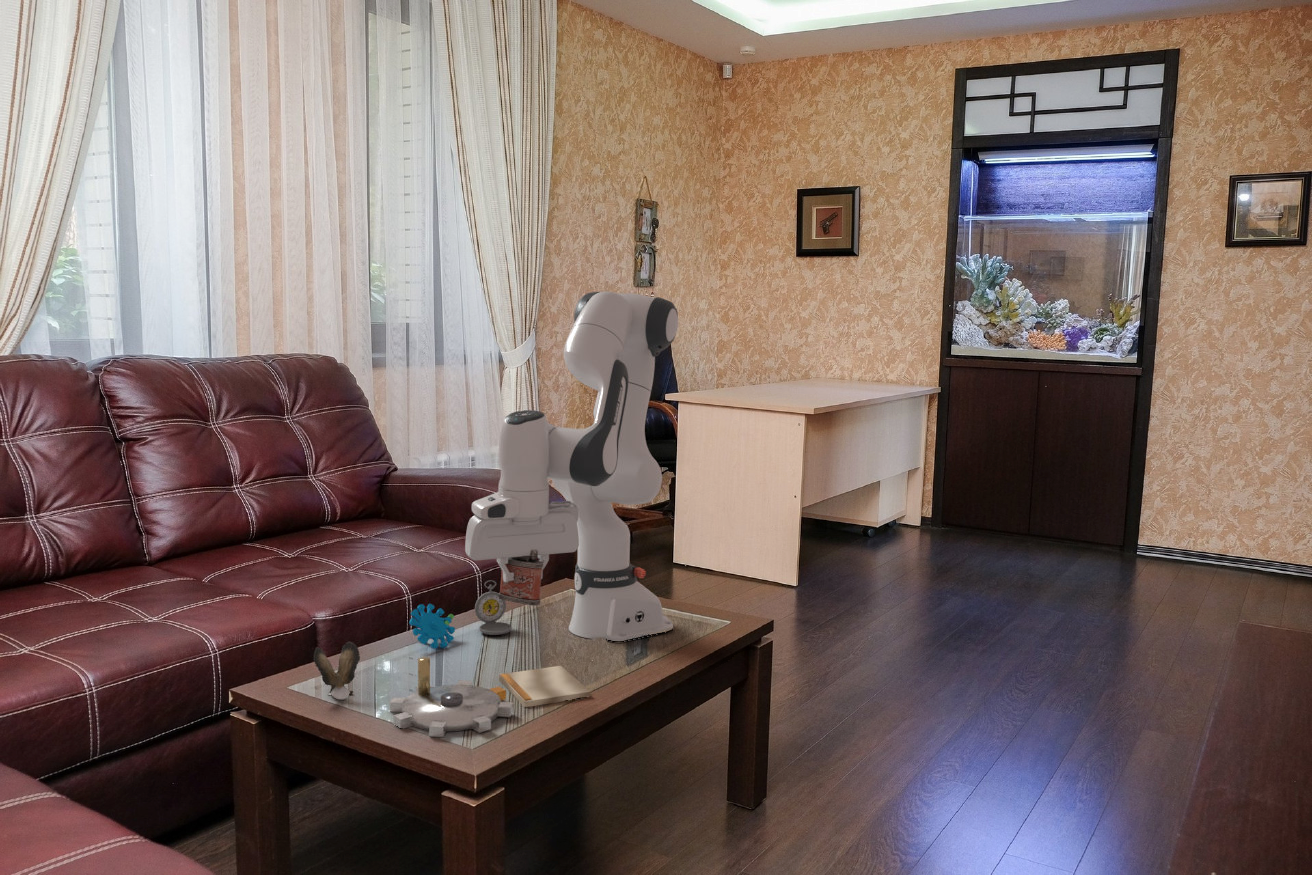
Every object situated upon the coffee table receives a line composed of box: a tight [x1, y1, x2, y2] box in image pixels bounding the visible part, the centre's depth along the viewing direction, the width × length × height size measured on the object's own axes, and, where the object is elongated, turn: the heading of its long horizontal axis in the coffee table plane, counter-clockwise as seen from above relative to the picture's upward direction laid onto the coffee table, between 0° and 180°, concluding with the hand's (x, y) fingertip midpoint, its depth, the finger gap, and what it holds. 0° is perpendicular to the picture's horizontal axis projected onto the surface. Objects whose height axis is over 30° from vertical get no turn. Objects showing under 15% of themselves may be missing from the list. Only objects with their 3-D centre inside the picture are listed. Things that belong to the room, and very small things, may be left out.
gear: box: [408, 603, 456, 650], centre depth 203 cm, size 11×6×10 cm
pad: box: [498, 665, 591, 708], centre depth 180 cm, size 12×14×1 cm
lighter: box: [499, 550, 543, 606], centre depth 180 cm, size 8×3×10 cm, turn 67°
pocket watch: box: [474, 579, 513, 636], centre depth 212 cm, size 8×8×10 cm
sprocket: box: [389, 656, 514, 738], centre depth 168 cm, size 20×20×8 cm
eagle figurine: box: [313, 640, 361, 701], centre depth 173 cm, size 8×7×9 cm
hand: (522, 579), depth 180 cm, fingers closed on lighter, 4 cm apart
